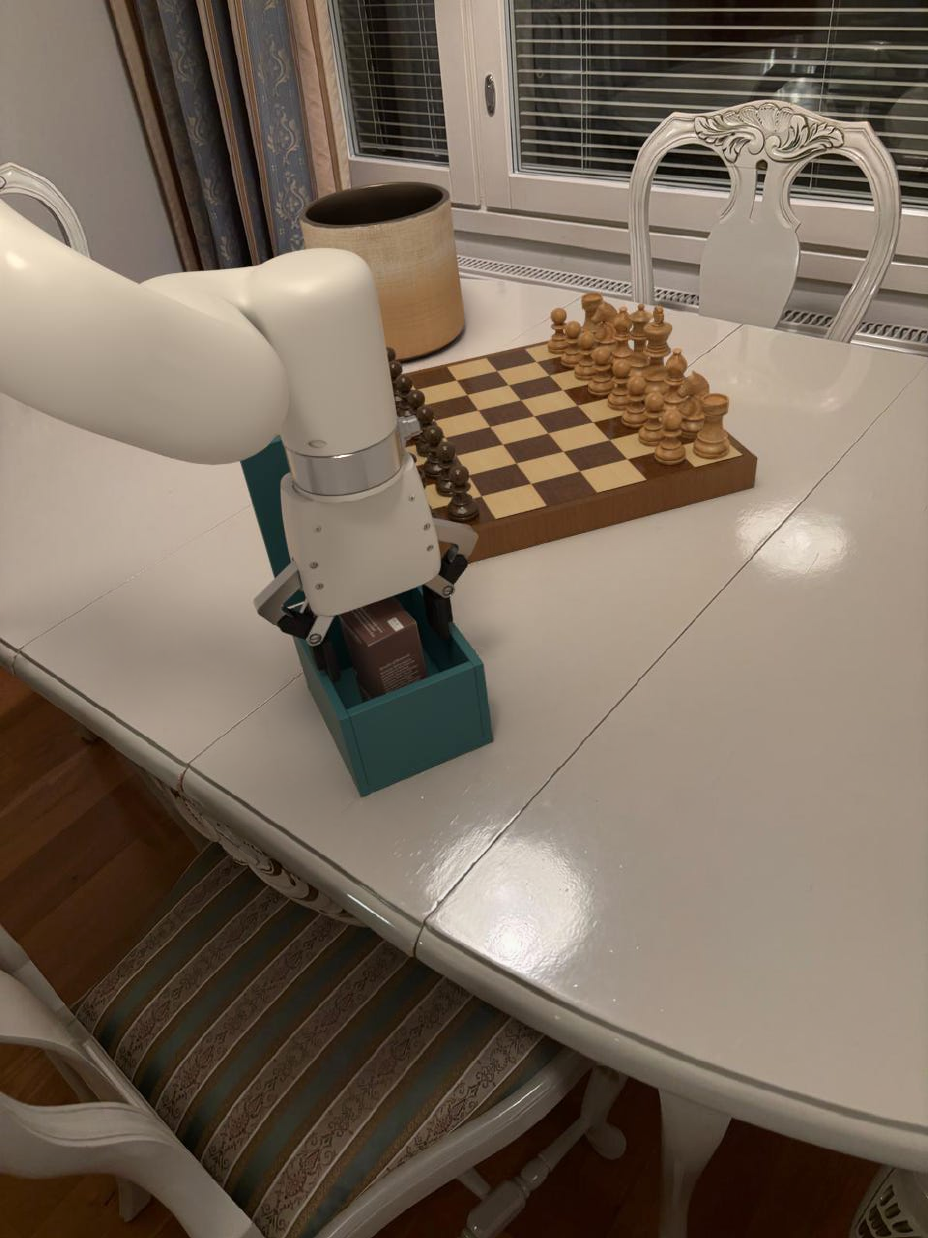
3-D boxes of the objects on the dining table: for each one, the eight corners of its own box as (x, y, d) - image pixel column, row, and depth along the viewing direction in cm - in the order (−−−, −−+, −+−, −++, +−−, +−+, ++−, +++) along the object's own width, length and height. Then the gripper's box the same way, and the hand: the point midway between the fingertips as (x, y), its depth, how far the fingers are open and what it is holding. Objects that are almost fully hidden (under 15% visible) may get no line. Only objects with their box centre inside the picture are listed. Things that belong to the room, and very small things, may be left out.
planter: (350, 312, 149) (325, 184, 136) (477, 308, 144) (464, 175, 131) (307, 369, 133) (274, 230, 120) (449, 367, 128) (431, 222, 115)
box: (361, 712, 75) (332, 603, 67) (407, 689, 77) (384, 580, 69) (393, 755, 71) (367, 644, 63) (441, 730, 72) (421, 619, 65)
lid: (389, 406, 66) (365, 377, 69) (238, 452, 63) (221, 420, 66) (412, 563, 76) (390, 531, 80) (284, 608, 73) (267, 574, 77)
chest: (493, 741, 72) (483, 662, 66) (361, 797, 69) (339, 720, 63) (424, 640, 83) (411, 564, 77) (307, 685, 80) (284, 610, 74)
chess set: (604, 352, 126) (604, 245, 117) (754, 487, 96) (769, 358, 87) (332, 416, 120) (308, 308, 111) (400, 581, 90) (376, 453, 81)
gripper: (443, 396, 63) (466, 588, 74) (202, 467, 58) (266, 661, 69) (489, 439, 57) (507, 639, 68) (228, 521, 53) (293, 722, 64)
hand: (385, 649), depth 69 cm, fingers open, 8 cm apart
